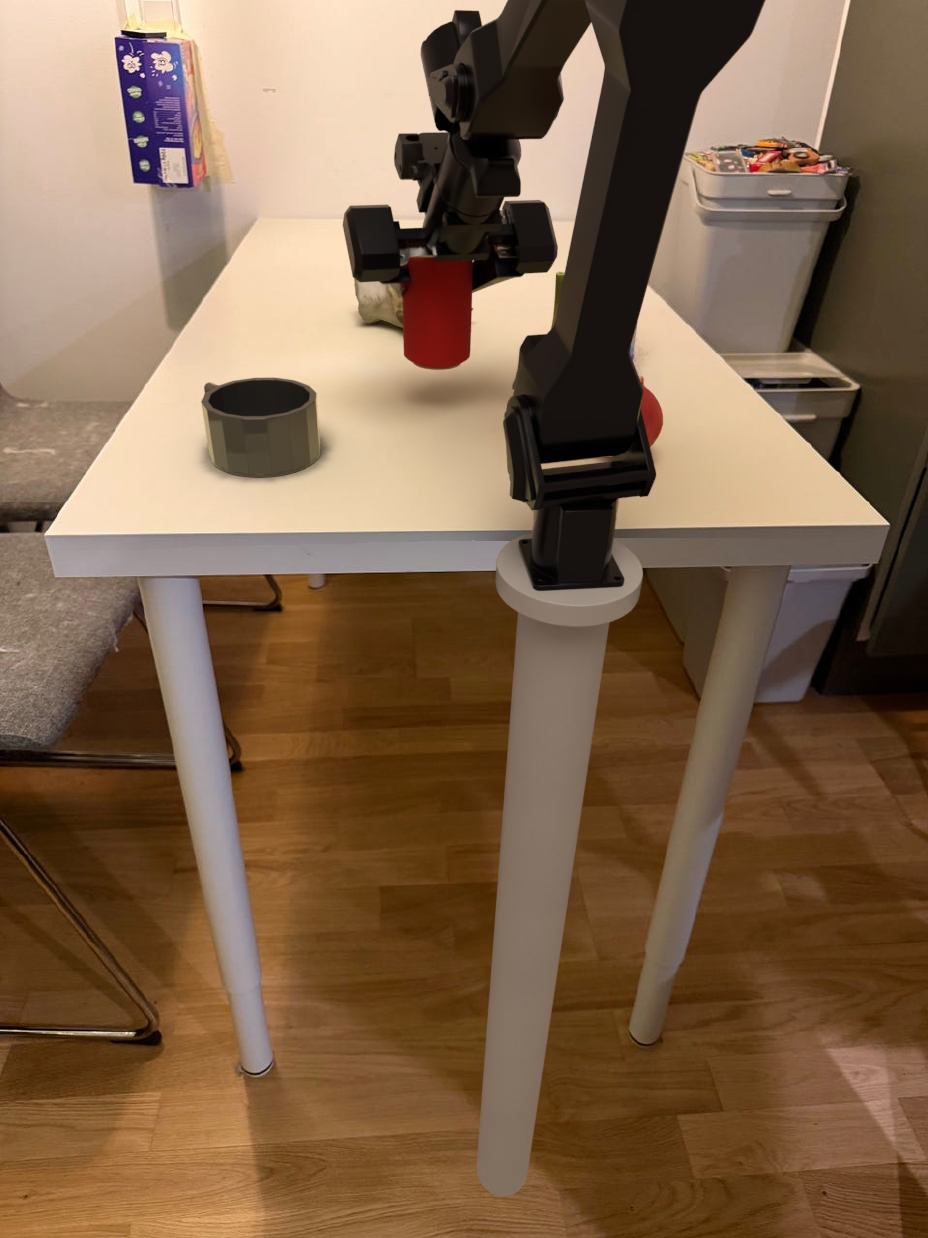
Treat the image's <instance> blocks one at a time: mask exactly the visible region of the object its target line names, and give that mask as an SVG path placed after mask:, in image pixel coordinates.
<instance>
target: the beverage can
mask: <svg viewBox="0 0 928 1238" xmlns="http://www.w3.org/2000/svg"><path fill="white" fill-rule="evenodd" d="M473 261H474V260H471V261H450V262H435V261H434V257H432V258H411V259H409V262H408V268H409V273H410V277H411V283H410V285H409V287H408V289H407V291H406V294H405V295H404V296H403V297H402V298H403V328H402V337H403V338H402V339H403V342H402V343H403V356H404V357H405V358H406V360H408V361H409V362H411V363H412V364H413V365H414V366H415V367H418V368H421V369H424V370H431V371H444V370H451V369H455V368H458V367H459V366H460V365H461V364H463V363H465V362H466V361H467V360H469V358H470V357H471V344H472V343H471V340H472V317H473V316H472V312H473V310H472V308H473V293H472V278H473Z"/></svg>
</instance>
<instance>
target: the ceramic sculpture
mask: <svg viewBox="0 0 928 1238" xmlns="http://www.w3.org/2000/svg"><path fill="white" fill-rule="evenodd" d="M353 280H354V281H353V282H354V293H355V297H356V300H357V302H358V305H357V311H358V315H359V317H360V318H361V320H362V321H363V322H364V323H366V324H371V323H377V322H379V321H384V322H388V323H389V324H391V325H394V326H396V327H398V328H402V329H403V298H398V297H397V294H396V291H395V289H394V288H393V287H392V286H391V285H389V284H386V285H385V284H381V283H380V282H379V281H378V282H359V281H357V280H356V279H355V278H353ZM472 311H474V307H472Z"/></svg>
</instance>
